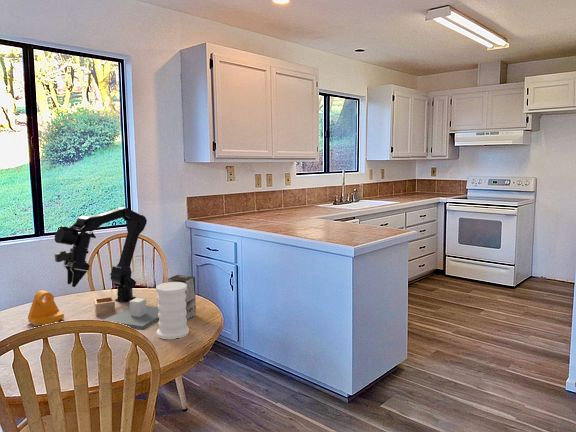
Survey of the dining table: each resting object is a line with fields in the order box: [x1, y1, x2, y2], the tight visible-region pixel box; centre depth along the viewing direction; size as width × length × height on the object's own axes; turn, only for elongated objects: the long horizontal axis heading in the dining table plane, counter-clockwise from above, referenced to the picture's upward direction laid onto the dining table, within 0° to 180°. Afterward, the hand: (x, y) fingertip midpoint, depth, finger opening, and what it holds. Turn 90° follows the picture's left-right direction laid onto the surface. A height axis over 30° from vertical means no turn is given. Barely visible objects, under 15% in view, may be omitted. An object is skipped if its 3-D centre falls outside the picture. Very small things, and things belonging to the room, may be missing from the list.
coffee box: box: [167, 274, 197, 320], centre depth 180 cm, size 9×6×16 cm
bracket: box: [27, 289, 65, 327], centre depth 174 cm, size 11×7×12 cm, turn 139°
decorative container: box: [155, 281, 190, 340], centre depth 162 cm, size 12×12×18 cm
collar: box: [93, 296, 116, 317], centre depth 185 cm, size 7×7×5 cm
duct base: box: [104, 297, 159, 330], centre depth 179 cm, size 20×18×7 cm
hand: (71, 285), depth 178 cm, fingers open, 9 cm apart
